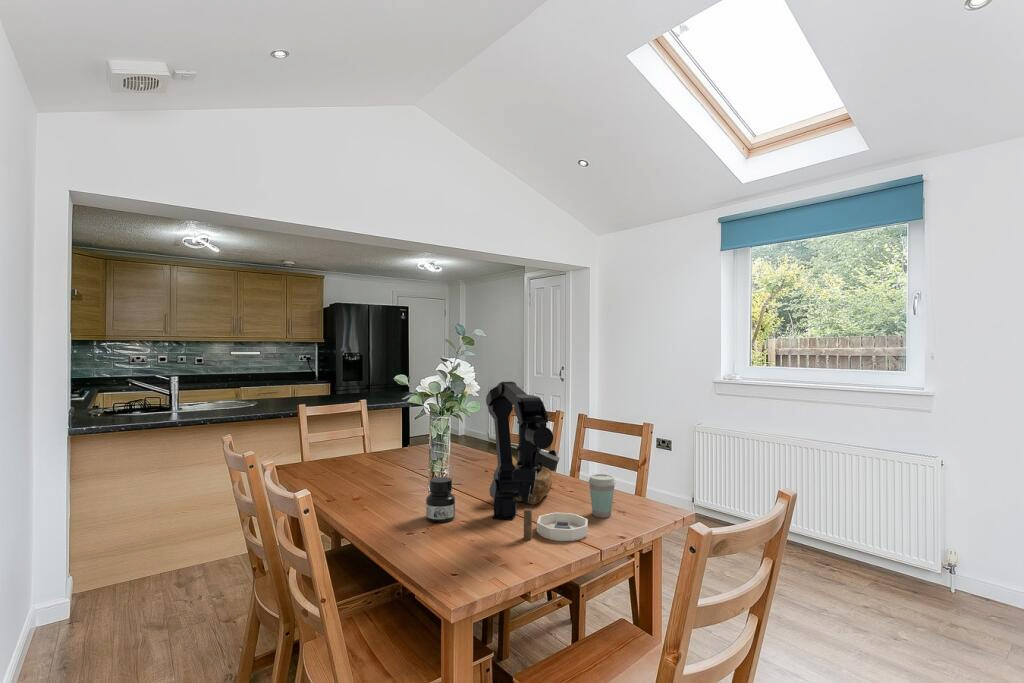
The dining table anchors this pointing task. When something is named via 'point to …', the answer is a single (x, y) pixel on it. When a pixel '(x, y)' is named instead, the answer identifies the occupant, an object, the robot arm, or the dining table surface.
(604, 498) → the coffee cup
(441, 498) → the ink bottle
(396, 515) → the dining table surface
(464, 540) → the dining table surface
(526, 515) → the tall wooden post
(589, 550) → the dining table surface
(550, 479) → the tan rock
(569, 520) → the octagonal white tray
